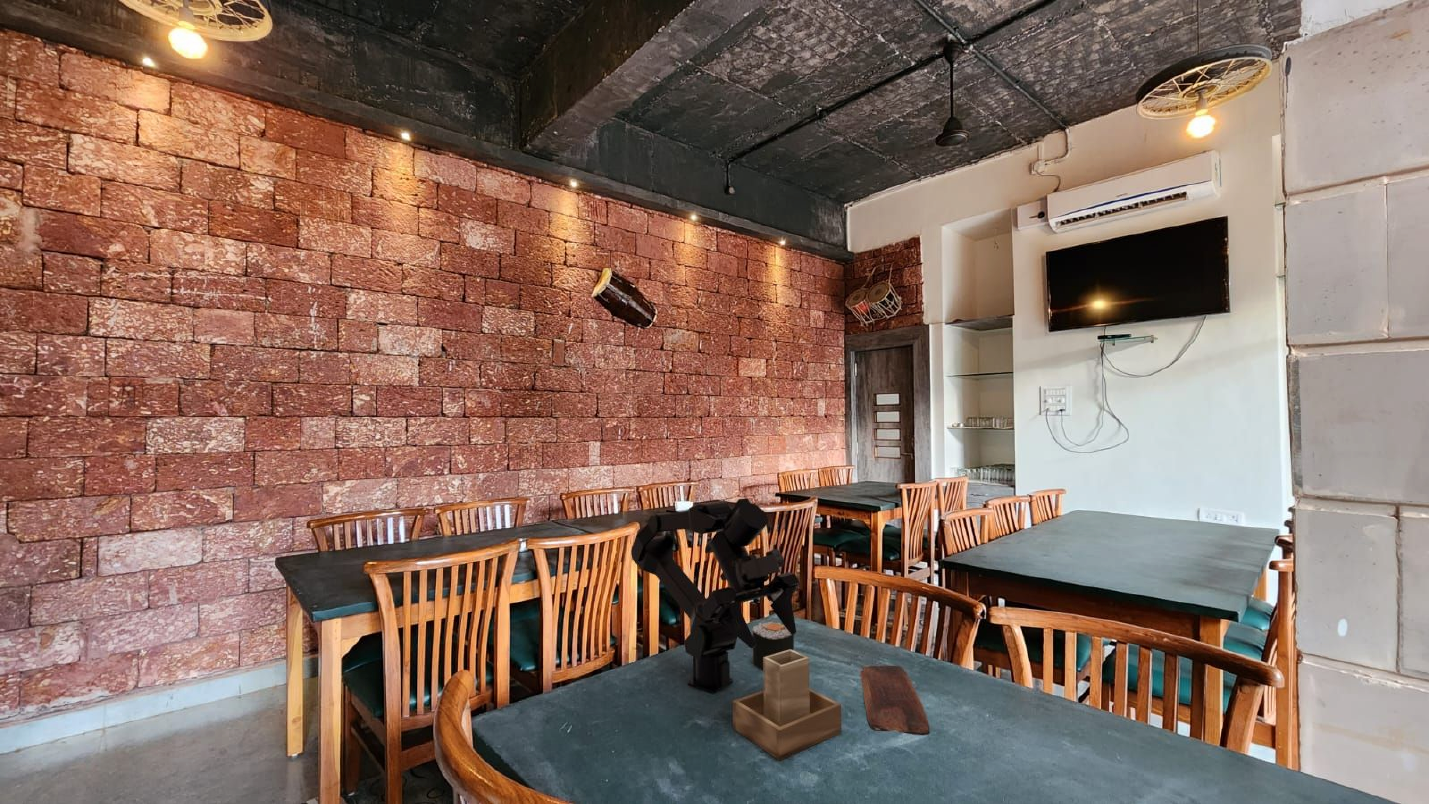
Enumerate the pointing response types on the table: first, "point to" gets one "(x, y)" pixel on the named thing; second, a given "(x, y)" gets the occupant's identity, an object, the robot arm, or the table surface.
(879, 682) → the wooden tablet
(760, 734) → the oak crate
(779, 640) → the sushi
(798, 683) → the birch crate
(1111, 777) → the table surface
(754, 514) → the robot arm
